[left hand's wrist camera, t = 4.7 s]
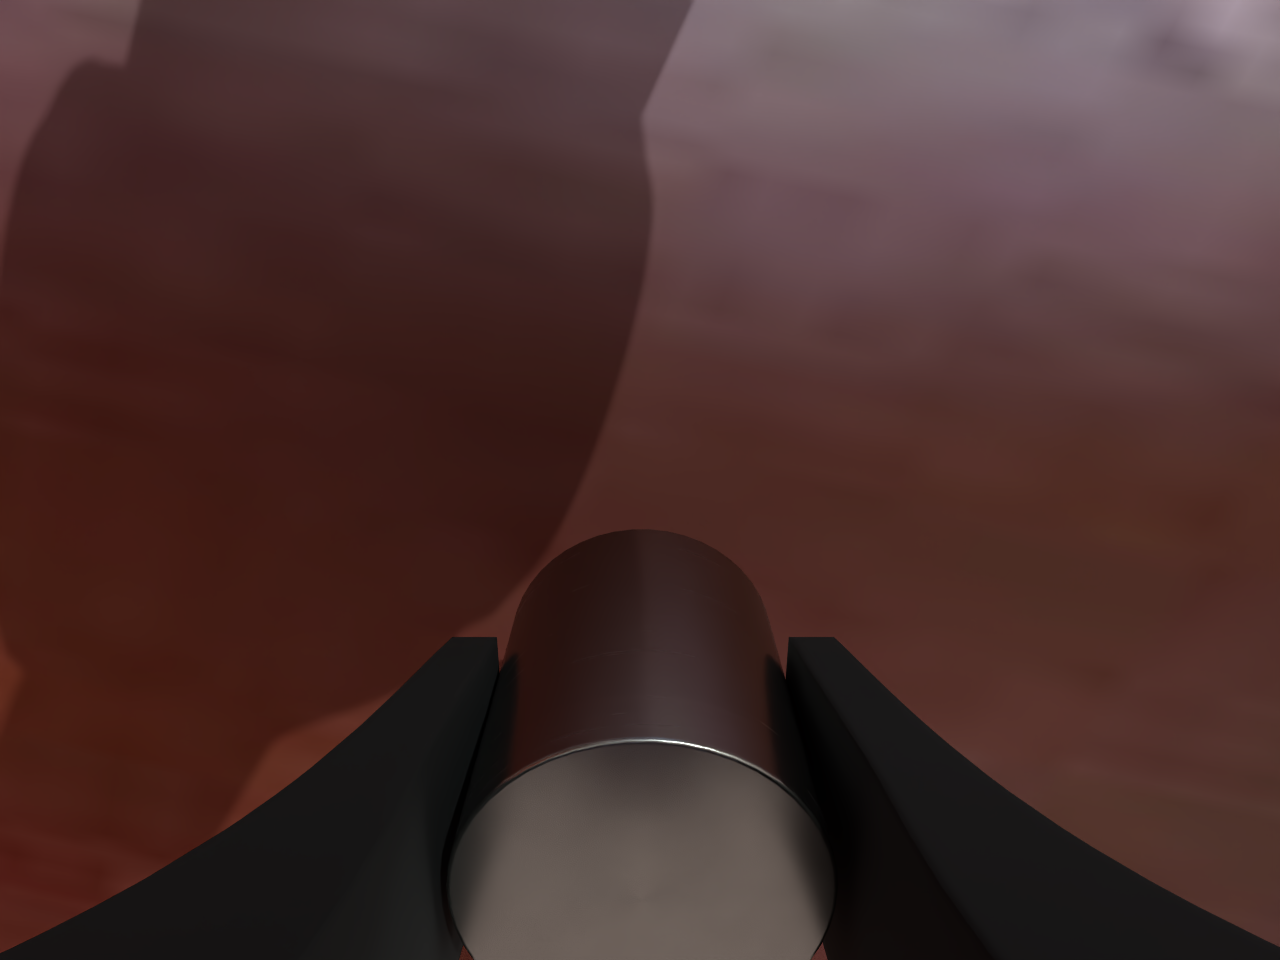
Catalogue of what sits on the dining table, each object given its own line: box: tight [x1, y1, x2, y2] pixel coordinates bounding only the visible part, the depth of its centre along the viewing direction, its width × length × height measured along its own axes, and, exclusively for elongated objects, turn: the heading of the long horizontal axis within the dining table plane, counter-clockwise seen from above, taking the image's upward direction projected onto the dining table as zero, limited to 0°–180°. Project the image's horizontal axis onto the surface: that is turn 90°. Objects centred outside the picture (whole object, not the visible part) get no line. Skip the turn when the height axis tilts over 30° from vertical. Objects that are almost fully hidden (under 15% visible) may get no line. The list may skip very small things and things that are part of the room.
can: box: [446, 529, 838, 960], centre depth 10 cm, size 4×4×5 cm
